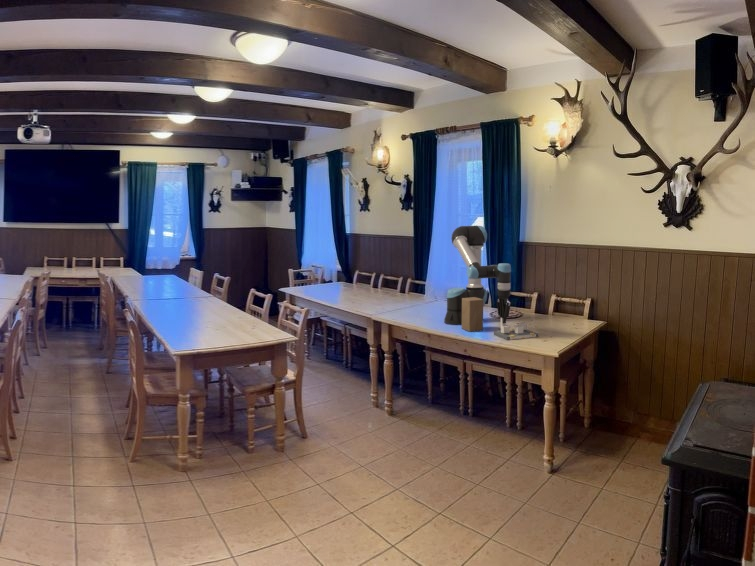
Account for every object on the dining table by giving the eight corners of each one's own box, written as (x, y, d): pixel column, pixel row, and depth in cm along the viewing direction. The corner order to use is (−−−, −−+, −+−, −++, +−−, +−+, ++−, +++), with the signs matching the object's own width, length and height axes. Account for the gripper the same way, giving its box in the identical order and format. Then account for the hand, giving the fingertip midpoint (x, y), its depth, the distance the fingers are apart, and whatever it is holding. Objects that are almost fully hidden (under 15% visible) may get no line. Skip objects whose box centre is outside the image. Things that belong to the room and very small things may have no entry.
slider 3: (518, 329, 314) (518, 322, 314) (524, 328, 316) (524, 322, 315) (521, 330, 312) (521, 323, 311) (527, 329, 313) (527, 323, 312)
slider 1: (500, 332, 308) (501, 325, 307) (506, 331, 309) (506, 324, 308) (503, 333, 305) (503, 326, 304) (509, 332, 306) (509, 325, 306)
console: (493, 334, 312) (493, 331, 311) (524, 331, 319) (524, 328, 319) (507, 340, 298) (507, 336, 298) (538, 336, 306) (538, 333, 305)
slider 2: (514, 332, 306) (514, 325, 306) (520, 331, 308) (520, 325, 307) (517, 333, 304) (517, 326, 303) (523, 333, 305) (523, 326, 304)
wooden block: (461, 328, 329) (461, 298, 326) (474, 327, 332) (475, 296, 329) (469, 332, 320) (469, 300, 317) (483, 330, 323) (483, 299, 320)
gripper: (492, 288, 310) (491, 326, 314) (504, 291, 298) (503, 331, 301) (503, 287, 313) (502, 325, 316) (515, 290, 301) (514, 329, 304)
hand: (503, 328), depth 309 cm, fingers closed
